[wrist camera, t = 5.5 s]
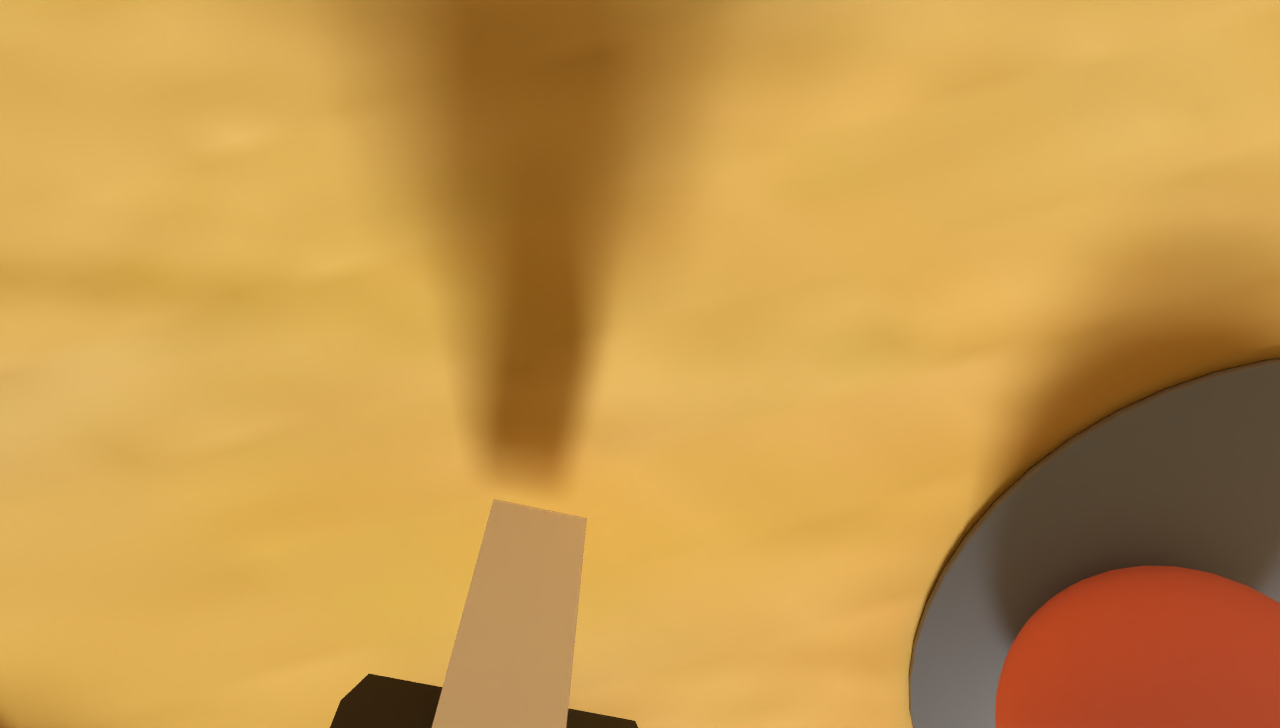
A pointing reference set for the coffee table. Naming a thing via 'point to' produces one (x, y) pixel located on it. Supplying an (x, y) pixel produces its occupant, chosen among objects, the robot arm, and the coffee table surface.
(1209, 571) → the disc
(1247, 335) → the coffee table surface
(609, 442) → the coffee table surface
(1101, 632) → the ball
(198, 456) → the coffee table surface
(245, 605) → the coffee table surface
